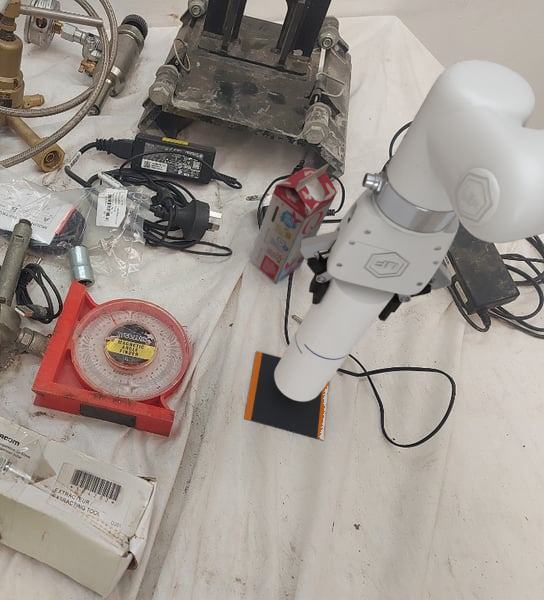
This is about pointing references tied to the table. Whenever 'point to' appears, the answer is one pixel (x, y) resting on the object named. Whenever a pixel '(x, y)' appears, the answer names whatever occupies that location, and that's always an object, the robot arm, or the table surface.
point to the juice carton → (292, 221)
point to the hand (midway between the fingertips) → (348, 302)
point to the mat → (281, 402)
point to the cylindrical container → (327, 337)
